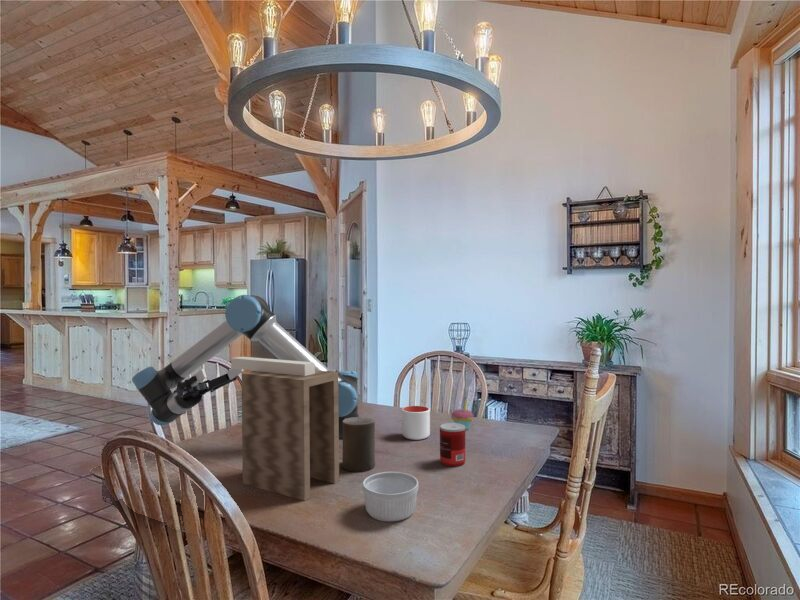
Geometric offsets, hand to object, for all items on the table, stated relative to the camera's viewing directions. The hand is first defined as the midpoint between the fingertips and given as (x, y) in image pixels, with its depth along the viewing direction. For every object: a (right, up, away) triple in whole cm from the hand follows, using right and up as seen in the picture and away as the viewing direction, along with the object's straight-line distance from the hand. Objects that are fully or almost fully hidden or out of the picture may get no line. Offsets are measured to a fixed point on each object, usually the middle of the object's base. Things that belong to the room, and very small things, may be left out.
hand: (223, 369), depth 141 cm
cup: (+59, -28, +27) cm, 71 cm away
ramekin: (+51, -29, -31) cm, 67 cm away
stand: (+24, -29, -14) cm, 40 cm away
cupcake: (+77, -28, +37) cm, 90 cm away
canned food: (+70, -28, +1) cm, 75 cm away
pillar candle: (+41, -29, -2) cm, 50 cm away
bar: (+17, +1, -11) cm, 20 cm away
